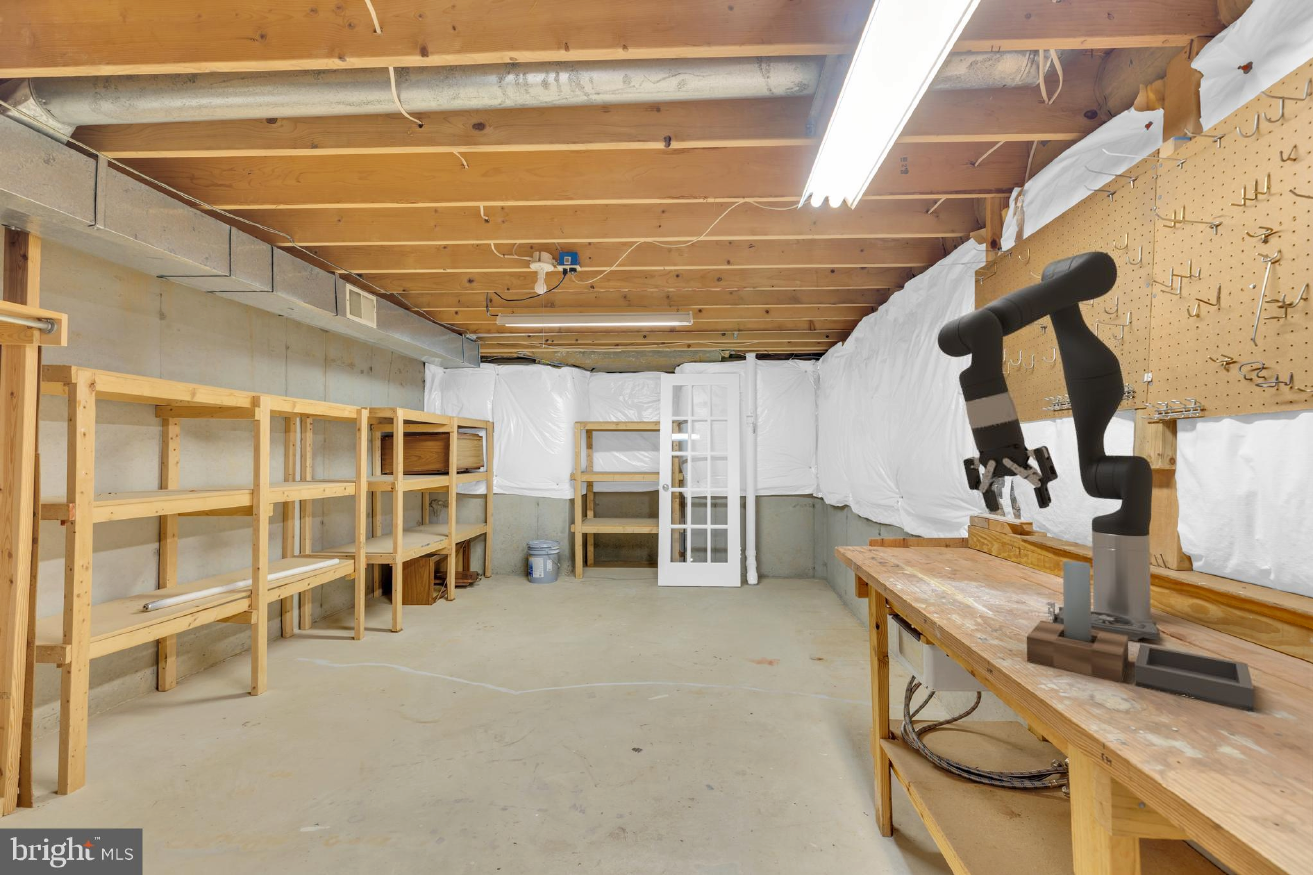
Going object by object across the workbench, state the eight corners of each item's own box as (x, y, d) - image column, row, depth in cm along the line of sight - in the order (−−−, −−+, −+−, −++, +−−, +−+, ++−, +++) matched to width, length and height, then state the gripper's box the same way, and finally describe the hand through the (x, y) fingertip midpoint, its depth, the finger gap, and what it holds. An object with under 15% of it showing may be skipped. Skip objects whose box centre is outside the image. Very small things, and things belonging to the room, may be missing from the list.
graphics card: (1044, 615, 107) (1048, 600, 116) (1044, 635, 107) (1048, 618, 116) (1163, 634, 97) (1156, 615, 106) (1163, 656, 97) (1156, 635, 106)
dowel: (1066, 654, 95) (1064, 560, 95) (1093, 660, 92) (1091, 563, 92) (1062, 660, 92) (1061, 563, 92) (1090, 666, 89) (1088, 566, 90)
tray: (1140, 662, 91) (1140, 643, 91) (1247, 683, 83) (1247, 663, 83) (1135, 685, 82) (1134, 664, 83) (1254, 711, 74) (1253, 689, 74)
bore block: (1041, 642, 100) (1040, 620, 101) (1128, 660, 92) (1128, 635, 92) (1027, 661, 92) (1026, 636, 92) (1122, 682, 84) (1121, 655, 84)
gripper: (1046, 409, 97) (1073, 501, 96) (967, 425, 109) (990, 507, 108) (1024, 416, 93) (1052, 511, 92) (945, 432, 105) (968, 516, 104)
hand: (1018, 509), depth 100 cm, fingers open, 8 cm apart
